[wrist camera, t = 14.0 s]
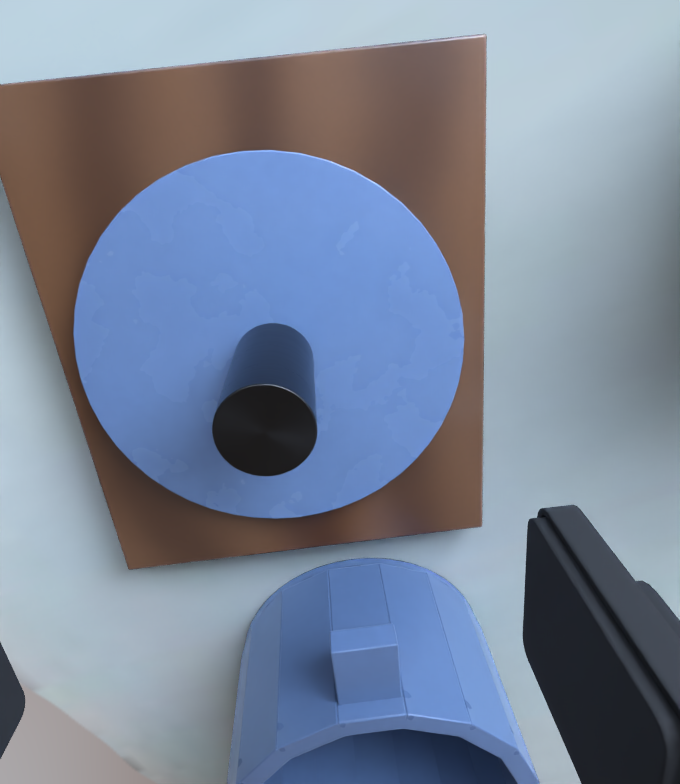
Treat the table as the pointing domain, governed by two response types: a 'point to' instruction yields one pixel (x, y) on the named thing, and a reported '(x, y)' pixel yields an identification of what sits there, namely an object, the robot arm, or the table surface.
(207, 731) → the table surface
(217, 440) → the lid
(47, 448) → the table surface
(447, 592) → the pot
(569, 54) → the table surface
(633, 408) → the table surface
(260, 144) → the board
